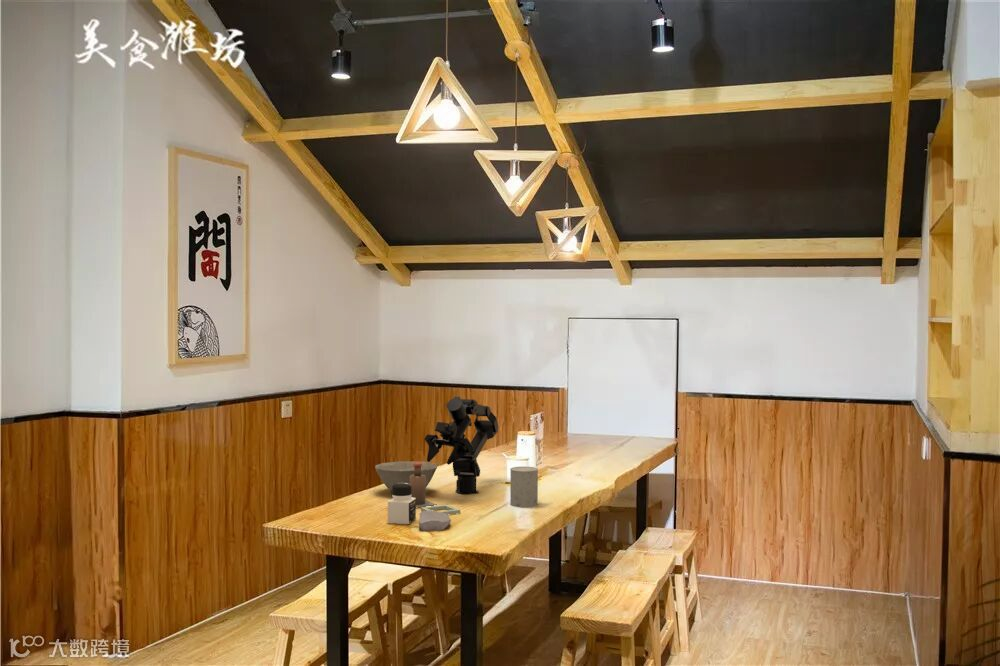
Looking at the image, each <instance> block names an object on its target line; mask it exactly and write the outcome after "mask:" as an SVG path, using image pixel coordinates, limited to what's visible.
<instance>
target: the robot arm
mask: <svg viewBox="0 0 1000 666" xmlns="http://www.w3.org/2000/svg"><path fill="white" fill-rule="evenodd" d="M446 409H447V411H448V412H447V413H448V414H449V415H450V416H449V417H450V418H451V419H452V421H449V423H448V422H441V421H437V422H436V425H435V428H434V431H435V432H437V433H439V436H440V437H441V438H439V436H438V435H437V434H431V433H430V434H426V436H425V437H424V441H425V442H426V444H427V445H428V452H427V457H426V462H430V463H431V461H432V460H433V459H434V457H436V456H437V455H438V453H440V450H441V448H442V447H443V446H447V447H452V448H453V449H452V451H451V453H450V455H449V457H448V458H447V461H446V464H447V465H448V466H449V465H451V464H452V470H453V476H454V477H457V479H456V480H455V481H456V483H455V484H456V487H455V489H456V490H455V492H456V493H458V492H459V493H458V494H461V493H462V495H469V493H471V494H479V490H477V477H478V478H479V477H481V475H480V474H481V468H480V466H479V463H478V461H477V458H478V457H479V455H480V453H481V451H482V449H483V448H484V446H485V445H486V443H487V441H489V440H490V439H493V438H494V437H495V436H496V435H497V433H498V431H499V422H498V419H497V417H496V416H495V414H494V413H493V412H492V411H491V406H488V405H483V404H479V403H478V401H477V400H475V399H473V398H471V399H470V398H469V399H468V398H461V396H457V395H456V396H454V397H453V398H451V399H449V400H448V401H447V402H446ZM474 415H475V420H474V422H472V418H471V417H470V416H474ZM479 417H486V418H487V419H488V420H487V419H485V420H484V419H479ZM472 423H473V424H474V425H473V424H472ZM472 426H474V428H475V432H476V433H475V434H474V436H473V438H472V439H471V441H470V440H469V439H468V438H466V434H465V433H466V431H467V429H468V428H469V427H472Z"/></svg>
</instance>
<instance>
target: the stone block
mask: <svg viewBox="0 0 1000 666" xmlns="http://www.w3.org/2000/svg"><path fill="white" fill-rule="evenodd" d="M418 520H419V521H418V530H419V531H421V532H432V531H433V532H434V531H436V532H437V531H438V532H439V531H444V530H445V529H447V528H448V526H450V524H451V521H452V519H451V517H450V515H447V514H445V513H443V512H440V511H438V510H435V511H420V512H419V519H418Z"/></svg>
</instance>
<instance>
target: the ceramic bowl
mask: <svg viewBox="0 0 1000 666" xmlns="http://www.w3.org/2000/svg"><path fill="white" fill-rule="evenodd" d="M414 462H416V460H415V461H413V460H412V461H402V460H401V461H392V462H382V463H379V464H376V465H374V466H375V467H374V468H375V471H376V473H377V475H378V477H379V479H380V481H382V483H383V484H384V486H385V487H386V488H387V489H388V490H389V491H391V492H392V486H393V485H394V484H397V483H408V484H410V475H414V466H413V463H414ZM421 462H422V466H421V475H425V489H427V487H428V485H429V484H430V482H431V480H432V478H433V477H434V475H435V472H436V470H437V468H438V465H437V464H436V463H433V462H431V461H430V462H428V461H421Z"/></svg>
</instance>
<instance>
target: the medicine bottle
mask: <svg viewBox="0 0 1000 666" xmlns="http://www.w3.org/2000/svg"><path fill="white" fill-rule="evenodd" d="M391 496H392V498H391V499H389V500H388V501H387V524H389V523H397V524H396V525H407V524H409V525H411V523H413V522H415V519H417V517H416V516H417V508H416V498H413V497H411V485H410V484H408V483H397V484H394V485H393V486H392V491H391Z"/></svg>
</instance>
